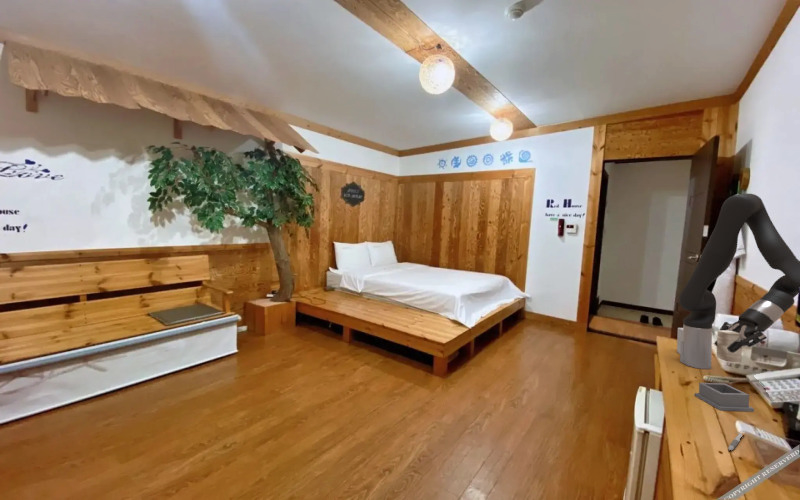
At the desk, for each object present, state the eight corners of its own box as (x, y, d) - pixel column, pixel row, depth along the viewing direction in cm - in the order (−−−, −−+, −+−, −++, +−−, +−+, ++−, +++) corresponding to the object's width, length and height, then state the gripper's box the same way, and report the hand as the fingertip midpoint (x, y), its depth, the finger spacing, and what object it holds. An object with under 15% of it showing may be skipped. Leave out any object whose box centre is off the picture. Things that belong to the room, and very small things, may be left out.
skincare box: (681, 355, 154) (681, 329, 153) (676, 351, 158) (676, 327, 157) (697, 356, 152) (697, 330, 151) (691, 353, 156) (692, 328, 156)
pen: (745, 436, 91) (745, 431, 91) (732, 454, 84) (732, 449, 84) (740, 434, 92) (740, 429, 92) (726, 452, 85) (726, 447, 85)
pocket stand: (694, 395, 114) (694, 381, 114) (725, 396, 113) (725, 382, 113) (720, 410, 104) (720, 395, 104) (753, 411, 103) (754, 396, 103)
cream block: (716, 357, 119) (717, 330, 118) (729, 357, 119) (730, 330, 118) (727, 361, 114) (728, 333, 114) (741, 362, 114) (742, 334, 114)
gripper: (733, 303, 122) (698, 334, 124) (774, 312, 108) (734, 347, 109) (748, 317, 122) (713, 348, 123) (791, 328, 108) (750, 363, 109)
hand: (723, 348), depth 116 cm, fingers closed on cream block, 4 cm apart
